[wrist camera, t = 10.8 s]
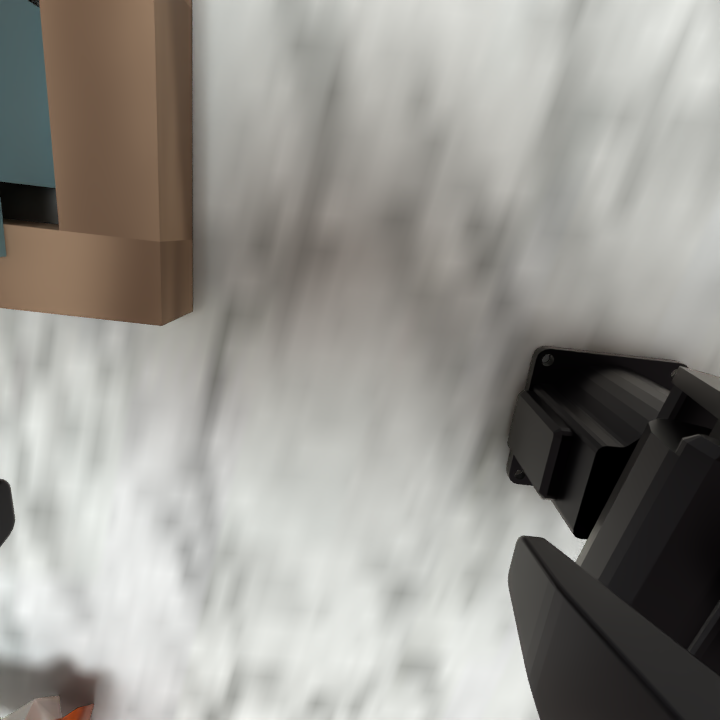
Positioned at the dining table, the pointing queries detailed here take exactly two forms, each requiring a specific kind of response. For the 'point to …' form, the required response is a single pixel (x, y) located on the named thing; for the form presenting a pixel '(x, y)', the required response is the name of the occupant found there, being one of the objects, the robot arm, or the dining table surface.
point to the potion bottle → (48, 711)
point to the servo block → (23, 101)
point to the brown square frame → (112, 167)
